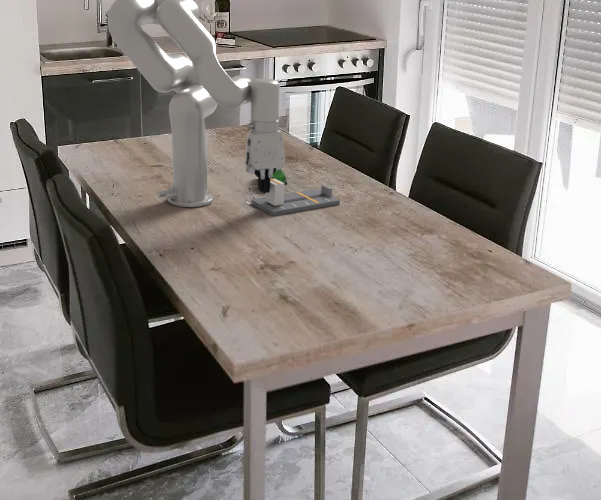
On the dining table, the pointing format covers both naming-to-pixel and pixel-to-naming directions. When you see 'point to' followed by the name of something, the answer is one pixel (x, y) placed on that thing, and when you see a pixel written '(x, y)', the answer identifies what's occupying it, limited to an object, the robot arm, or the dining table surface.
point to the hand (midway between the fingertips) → (264, 191)
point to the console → (299, 201)
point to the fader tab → (275, 193)
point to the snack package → (279, 176)
